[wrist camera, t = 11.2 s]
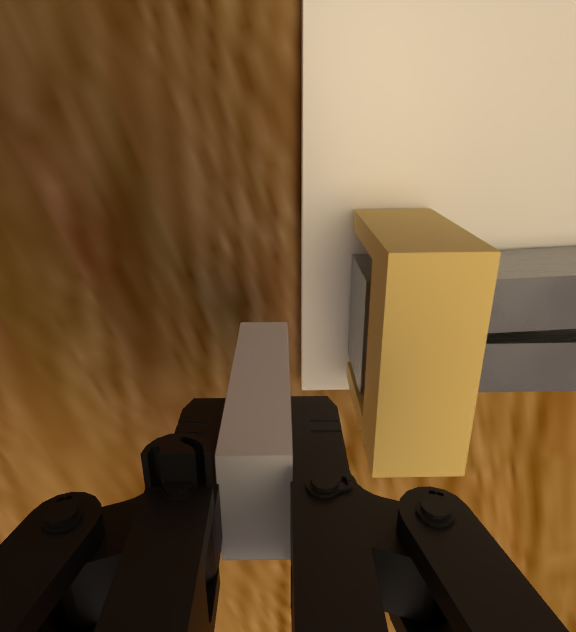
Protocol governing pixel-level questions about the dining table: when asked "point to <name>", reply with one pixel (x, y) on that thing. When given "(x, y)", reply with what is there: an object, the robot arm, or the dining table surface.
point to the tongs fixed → (500, 351)
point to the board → (429, 136)
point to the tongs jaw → (535, 290)
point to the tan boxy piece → (422, 340)
